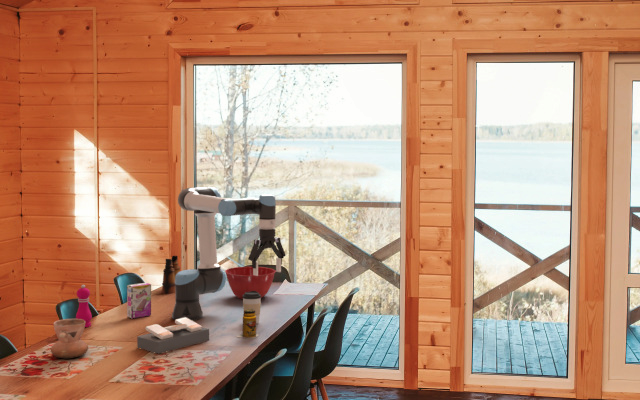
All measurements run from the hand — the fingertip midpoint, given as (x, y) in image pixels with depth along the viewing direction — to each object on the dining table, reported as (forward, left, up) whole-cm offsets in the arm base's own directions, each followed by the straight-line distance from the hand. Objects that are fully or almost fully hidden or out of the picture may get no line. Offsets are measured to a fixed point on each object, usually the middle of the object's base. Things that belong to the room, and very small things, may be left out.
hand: (267, 273), depth 339 cm
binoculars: (-106, +31, -27) cm, 113 cm away
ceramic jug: (-33, -82, -27) cm, 93 cm away
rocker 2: (-14, -44, -20) cm, 51 cm away
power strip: (-14, -43, -26) cm, 52 cm away
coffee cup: (-15, +5, -27) cm, 31 cm away
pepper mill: (-71, -51, -27) cm, 91 cm away
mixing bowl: (-57, +47, -27) cm, 78 cm away
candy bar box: (-67, -22, -27) cm, 75 cm away
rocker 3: (-14, -36, -20) cm, 44 cm away
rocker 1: (-14, -52, -20) cm, 58 cm away
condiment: (+1, -14, -27) cm, 30 cm away
